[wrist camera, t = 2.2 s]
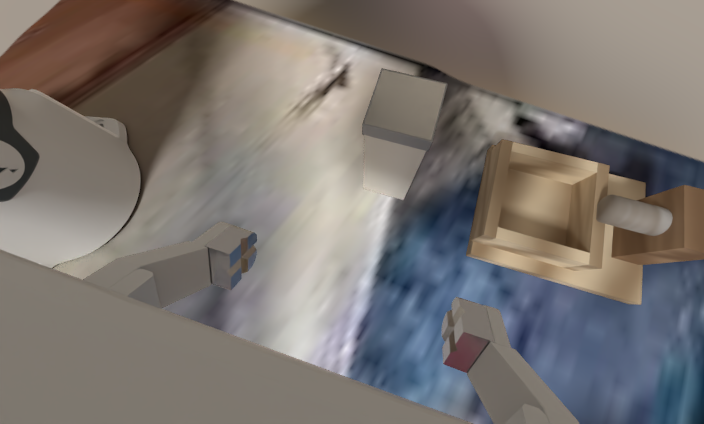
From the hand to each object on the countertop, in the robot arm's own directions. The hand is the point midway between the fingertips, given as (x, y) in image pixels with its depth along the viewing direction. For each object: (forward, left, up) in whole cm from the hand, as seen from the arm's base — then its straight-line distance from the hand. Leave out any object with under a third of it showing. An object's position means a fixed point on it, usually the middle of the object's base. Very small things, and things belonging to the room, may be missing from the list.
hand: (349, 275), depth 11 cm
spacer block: (0, +12, -16) cm, 20 cm away
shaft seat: (+17, +12, -16) cm, 26 cm away
